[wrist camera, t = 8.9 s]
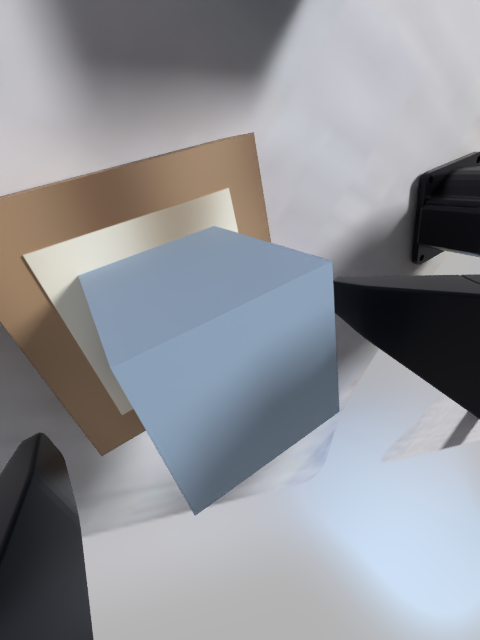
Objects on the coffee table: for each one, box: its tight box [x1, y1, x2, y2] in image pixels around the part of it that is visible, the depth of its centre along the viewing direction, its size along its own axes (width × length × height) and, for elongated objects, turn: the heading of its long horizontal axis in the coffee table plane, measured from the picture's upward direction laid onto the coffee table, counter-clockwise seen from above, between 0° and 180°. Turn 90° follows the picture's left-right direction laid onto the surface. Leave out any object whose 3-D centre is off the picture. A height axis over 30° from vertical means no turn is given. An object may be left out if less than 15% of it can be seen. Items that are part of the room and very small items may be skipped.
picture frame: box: [0, 132, 271, 456], centre depth 13 cm, size 10×10×3 cm
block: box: [78, 226, 339, 515], centre depth 10 cm, size 5×5×6 cm
